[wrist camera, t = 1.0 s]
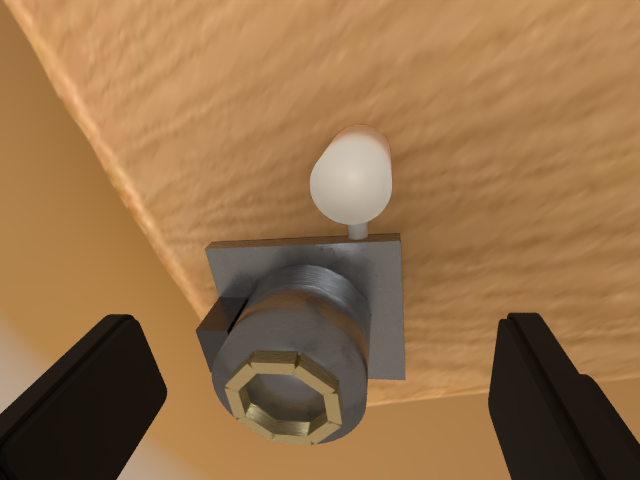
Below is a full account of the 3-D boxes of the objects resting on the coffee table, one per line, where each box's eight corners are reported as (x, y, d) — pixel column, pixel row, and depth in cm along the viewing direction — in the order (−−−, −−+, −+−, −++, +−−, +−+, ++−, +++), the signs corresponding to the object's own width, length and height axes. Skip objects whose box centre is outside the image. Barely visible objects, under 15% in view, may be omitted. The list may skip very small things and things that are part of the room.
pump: (389, 120, 27) (390, 141, 20) (392, 203, 30) (394, 246, 23) (325, 128, 28) (304, 149, 21) (334, 207, 31) (318, 249, 24)
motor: (399, 233, 31) (407, 318, 20) (404, 368, 37) (411, 484, 27) (211, 242, 34) (136, 317, 24) (247, 364, 41) (200, 464, 31)
